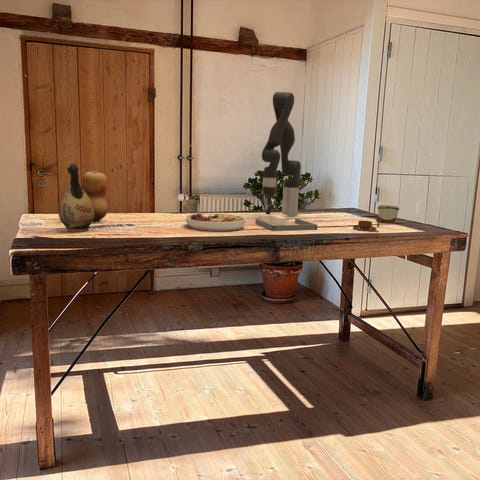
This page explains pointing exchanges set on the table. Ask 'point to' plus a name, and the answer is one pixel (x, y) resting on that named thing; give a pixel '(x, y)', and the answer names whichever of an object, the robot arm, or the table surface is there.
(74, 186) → the ceramic jug
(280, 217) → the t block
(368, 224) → the place setting
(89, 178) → the brown hourglass-shaped piece
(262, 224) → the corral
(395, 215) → the food container
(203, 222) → the bowl
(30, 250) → the table surface
